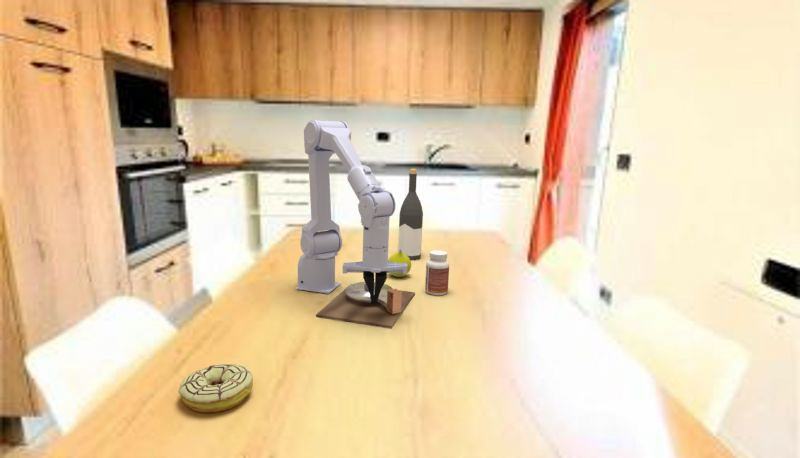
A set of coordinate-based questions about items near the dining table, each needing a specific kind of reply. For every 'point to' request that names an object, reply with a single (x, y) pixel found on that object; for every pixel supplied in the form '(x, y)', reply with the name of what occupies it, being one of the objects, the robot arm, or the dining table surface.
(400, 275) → the yellow round fruit
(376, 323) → the board
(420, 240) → the wine bottle
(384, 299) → the metal lid
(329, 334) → the dining table surface
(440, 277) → the pill bottle
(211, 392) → the decorated donut
